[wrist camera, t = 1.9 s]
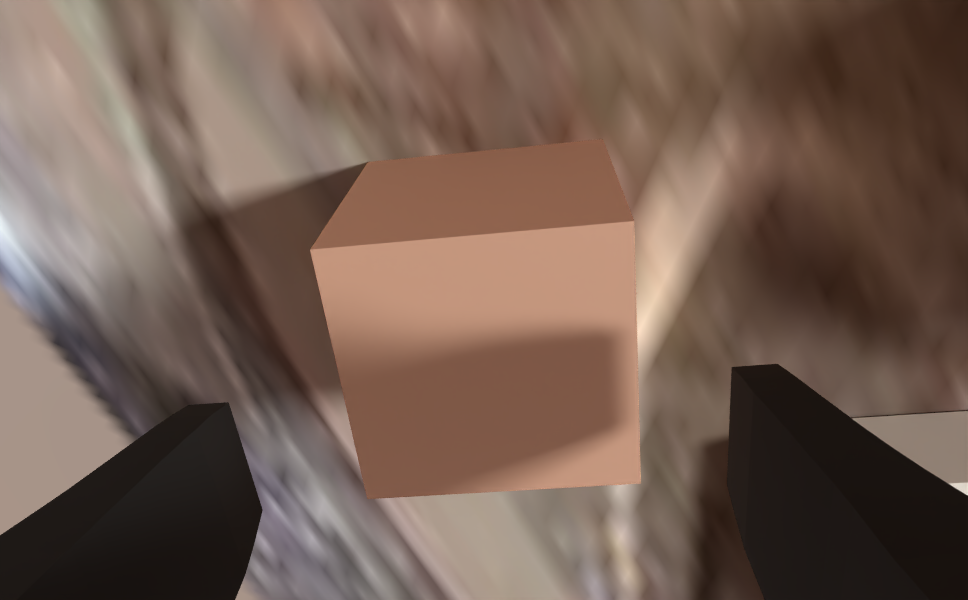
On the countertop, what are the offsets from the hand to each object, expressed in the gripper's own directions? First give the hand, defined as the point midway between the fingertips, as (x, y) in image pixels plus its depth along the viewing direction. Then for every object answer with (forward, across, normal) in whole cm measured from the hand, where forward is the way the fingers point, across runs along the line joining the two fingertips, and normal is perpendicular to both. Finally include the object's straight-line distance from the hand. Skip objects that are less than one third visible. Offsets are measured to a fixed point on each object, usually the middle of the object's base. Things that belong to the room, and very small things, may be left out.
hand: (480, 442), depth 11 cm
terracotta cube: (+7, 0, 0) cm, 7 cm away
